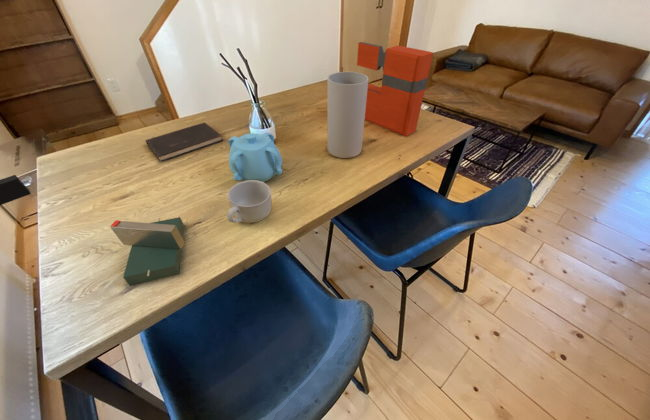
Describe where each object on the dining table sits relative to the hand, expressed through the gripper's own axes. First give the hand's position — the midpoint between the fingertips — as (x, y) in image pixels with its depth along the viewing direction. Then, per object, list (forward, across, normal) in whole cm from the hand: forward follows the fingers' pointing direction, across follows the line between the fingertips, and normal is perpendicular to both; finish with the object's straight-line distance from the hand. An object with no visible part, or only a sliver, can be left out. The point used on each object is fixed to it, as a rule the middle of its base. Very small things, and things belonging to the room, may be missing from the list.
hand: (22, 184), depth 40 cm
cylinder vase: (+77, -2, -28) cm, 82 cm away
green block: (+10, -4, -28) cm, 30 cm away
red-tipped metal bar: (+10, -4, -25) cm, 27 cm away
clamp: (+106, -8, -28) cm, 110 cm away
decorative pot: (+46, -13, -28) cm, 56 cm away
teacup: (+32, +2, -28) cm, 43 cm away
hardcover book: (+40, -51, -28) cm, 70 cm away
